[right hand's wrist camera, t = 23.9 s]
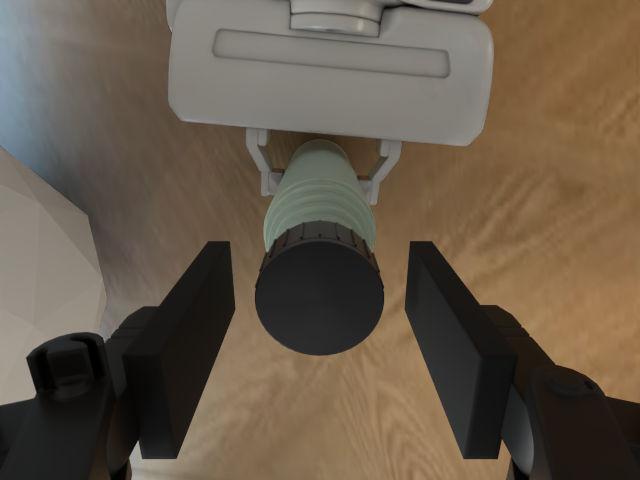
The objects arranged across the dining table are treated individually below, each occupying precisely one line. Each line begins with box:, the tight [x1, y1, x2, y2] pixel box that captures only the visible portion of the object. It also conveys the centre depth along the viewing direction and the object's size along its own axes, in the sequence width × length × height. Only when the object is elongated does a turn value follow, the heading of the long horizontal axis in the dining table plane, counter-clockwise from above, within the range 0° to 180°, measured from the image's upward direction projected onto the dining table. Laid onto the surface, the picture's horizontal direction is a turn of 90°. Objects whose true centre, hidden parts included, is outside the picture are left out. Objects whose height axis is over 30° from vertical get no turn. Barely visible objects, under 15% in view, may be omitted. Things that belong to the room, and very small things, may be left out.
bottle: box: [263, 139, 376, 252], centre depth 24 cm, size 5×5×22 cm
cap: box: [255, 220, 384, 356], centre depth 14 cm, size 4×4×2 cm
